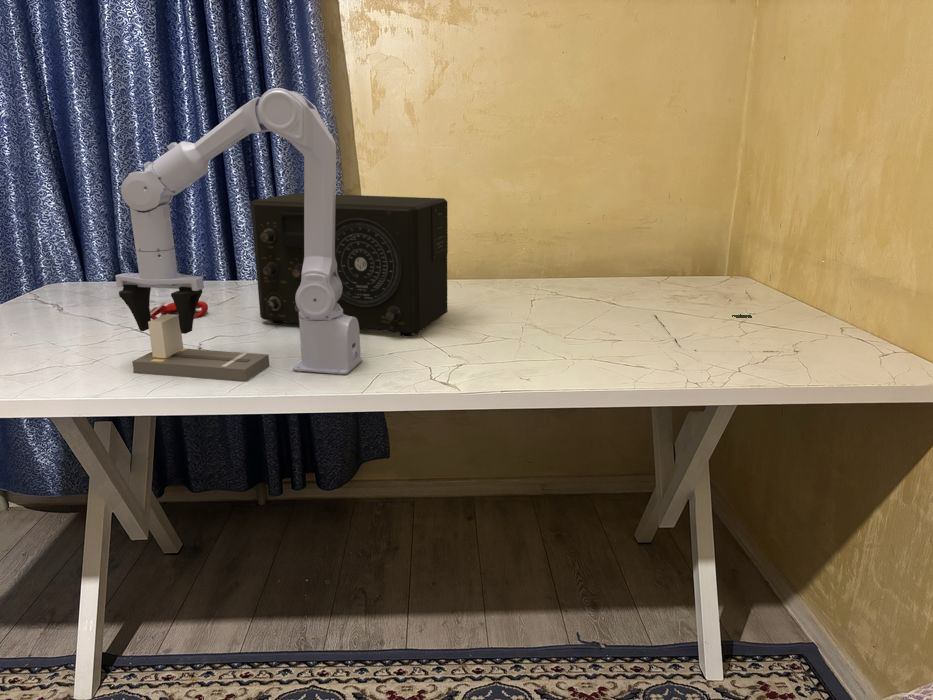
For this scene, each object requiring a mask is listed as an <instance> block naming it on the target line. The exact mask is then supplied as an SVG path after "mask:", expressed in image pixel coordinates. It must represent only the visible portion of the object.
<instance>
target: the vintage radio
mask: <svg viewBox="0 0 933 700" xmlns="http://www.w3.org/2000/svg"><path fill="white" fill-rule="evenodd" d="M250 209H251V211H250V212H251V222H252V235H253V247H254V258H255V267H256V270H255V271H256V281H257V293H258V303H259V304H258V305H259V315H260V316H259V317H260V318H261V319H262V320H265V321H271V324H273V325H280V324H284V323H285V322H286V323H287V322H288V323H297V324H299V311H300V310H299V309H298V307H297V305H296V301H295V296H296V292H297V290H298V288H299V286H300V284H301V273H302V267H303V262H304V193H303V192H302V193H298V192H296V193H295V192H294V193H289V194H284V195H283V194H282V195H278V196H272V197H266V198H260V199H253V200H252V201H251V202H250ZM448 224H449V223H448V201H447V199H445V198H443V197H442V198H441V197H417V196H415V197H413V196H389V195H388V196H386V195H385V196H384V195H383V196H382V195H359V194H356V195H355V194H336V202H335V259H336V262H337V273H338V277H339V279H340V280H341V283H342V294H341V297H340V298H339V300H338V301H337V303H338V304H339V305H340V307H341V308H342V309H343V314H345V315H347V316H352V317H355V318H357V320H358V323H359V330H372V331H382V332H393V333H399V336H401V337H412V336H413V335H417V334H420V333H421V332H422V331H423V330H424V329H425V330H426V328H427V327H429V326H430V325H432V324H433V323H435V322H436V321H437V320H439V319H440V318H442V317H443V316H444V315H445V314H447V313H448V253H449V251H448V250H449V247H448V243H449V242H448V237H449V235H448V233H449V232H448V227H449V226H448Z"/></svg>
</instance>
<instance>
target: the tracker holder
mask: <svg viewBox="0 0 933 700" xmlns="http://www.w3.org/2000/svg"><path fill="white" fill-rule="evenodd" d="M196 309H200V312H198V313H197V314H194V319H195V318H200V317H203V316H205V315H206V314H207V313H208V309H209V306H208V303H207V302H205V301H201V300H199V301H198V304H197V306H196ZM174 313H178V312H177V309H176V306H175V303H174V301H172V302H171V303H168V304H166V305H165V302H162V303H161V304H160V305H158V306H156V307H152V308H151V309H150V316H151V320H154V319H156V318H159V317H158V316H157V315H160V314H161V315H166V314H174Z"/></svg>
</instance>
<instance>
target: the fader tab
mask: <svg viewBox="0 0 933 700" xmlns="http://www.w3.org/2000/svg"><path fill="white" fill-rule="evenodd" d="M148 325H149V329H148V332H149V338H150V346H151V347H150V348H151V352H152V355H153V357H158V358H167V357H169V356H171V355H173V354H175V353H177V352H179V351H181V350H183V348H184V342H183V334H182V333H181V330H180V325H179V317H178V314H172V313H170V314H162V315H161V316H159V317H158V318H156V319H154V320H153V319H151V321H149V322H148Z"/></svg>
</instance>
